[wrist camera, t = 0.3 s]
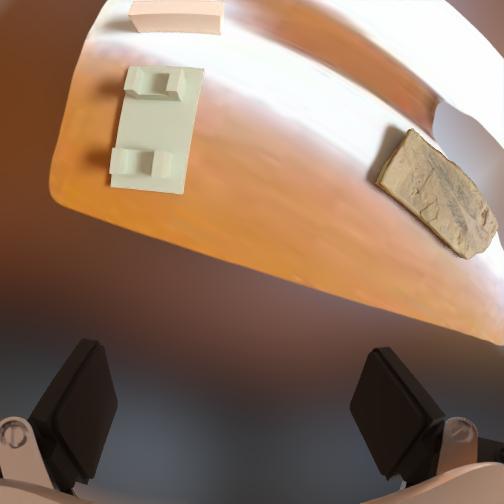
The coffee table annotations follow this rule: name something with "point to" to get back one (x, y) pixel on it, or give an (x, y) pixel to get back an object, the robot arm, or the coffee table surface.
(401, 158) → the stone slab
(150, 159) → the grey mounting plate
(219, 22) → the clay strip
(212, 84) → the coffee table surface
